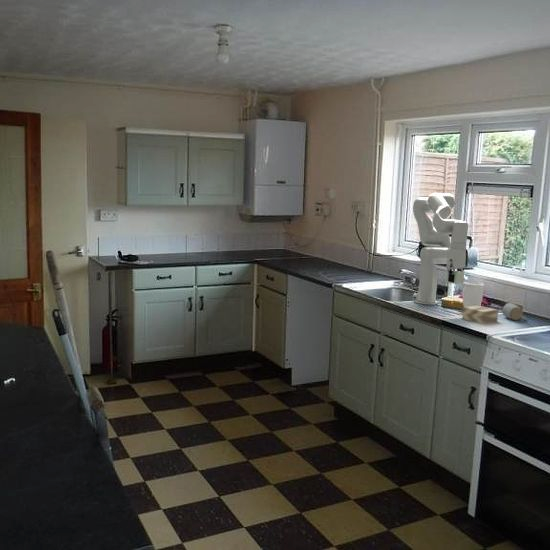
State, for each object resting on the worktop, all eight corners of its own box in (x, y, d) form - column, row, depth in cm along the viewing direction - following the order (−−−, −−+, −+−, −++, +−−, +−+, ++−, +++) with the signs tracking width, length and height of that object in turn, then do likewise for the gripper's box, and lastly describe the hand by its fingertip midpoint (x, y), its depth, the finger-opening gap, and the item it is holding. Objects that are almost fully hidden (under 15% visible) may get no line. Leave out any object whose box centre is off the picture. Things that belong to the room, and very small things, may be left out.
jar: (480, 313, 326) (484, 285, 323) (460, 311, 329) (463, 283, 327) (481, 310, 336) (484, 282, 333) (461, 307, 339) (464, 280, 337)
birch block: (462, 318, 312) (463, 307, 311) (476, 316, 319) (477, 305, 318) (483, 324, 302) (484, 312, 302) (497, 321, 310) (498, 309, 309)
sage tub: (446, 282, 316) (447, 270, 315) (452, 281, 320) (454, 269, 319) (456, 284, 312) (457, 272, 311) (463, 283, 316) (464, 271, 315)
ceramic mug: (509, 320, 312) (511, 305, 311) (501, 317, 320) (503, 302, 319) (529, 321, 314) (531, 306, 313) (520, 317, 322) (522, 303, 321)
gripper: (461, 244, 321) (458, 279, 324) (441, 245, 310) (438, 281, 313) (474, 246, 316) (470, 281, 319) (454, 247, 305) (451, 283, 307)
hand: (454, 281), depth 316 cm, fingers closed on sage tub, 6 cm apart
